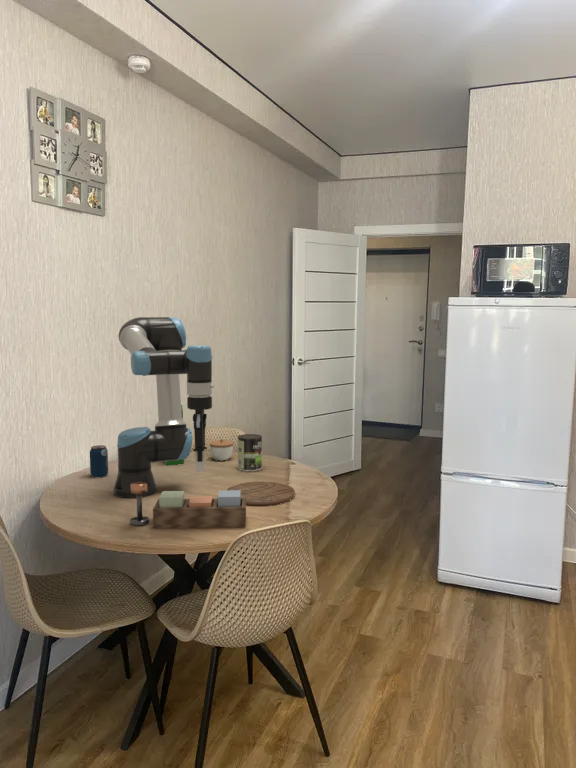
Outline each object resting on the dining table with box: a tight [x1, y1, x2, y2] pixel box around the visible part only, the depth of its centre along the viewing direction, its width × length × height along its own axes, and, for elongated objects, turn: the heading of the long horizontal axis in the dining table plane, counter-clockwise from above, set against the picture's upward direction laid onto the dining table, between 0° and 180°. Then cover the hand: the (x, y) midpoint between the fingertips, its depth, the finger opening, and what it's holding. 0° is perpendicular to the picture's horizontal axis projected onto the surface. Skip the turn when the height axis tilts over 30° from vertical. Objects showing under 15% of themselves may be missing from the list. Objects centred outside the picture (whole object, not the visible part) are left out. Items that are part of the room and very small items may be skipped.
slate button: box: [217, 489, 241, 507], centre depth 180 cm, size 7×7×4 cm
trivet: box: [226, 481, 296, 507], centre depth 208 cm, size 25×25×2 cm
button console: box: [152, 497, 247, 529], centre depth 180 cm, size 28×10×6 cm, turn 93°
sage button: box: [158, 490, 186, 508], centre depth 179 cm, size 7×7×4 cm
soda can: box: [89, 445, 109, 478], centre depth 232 cm, size 7×7×12 cm
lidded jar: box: [209, 438, 234, 462], centre depth 261 cm, size 11×11×9 cm
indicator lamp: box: [129, 482, 151, 527], centre depth 178 cm, size 6×6×12 cm
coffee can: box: [237, 433, 263, 472], centre depth 245 cm, size 10×10×14 cm
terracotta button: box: [189, 495, 213, 507], centre depth 180 cm, size 7×7×4 cm
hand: (200, 470), depth 179 cm, fingers closed
